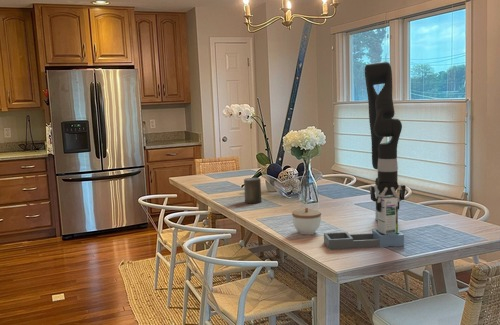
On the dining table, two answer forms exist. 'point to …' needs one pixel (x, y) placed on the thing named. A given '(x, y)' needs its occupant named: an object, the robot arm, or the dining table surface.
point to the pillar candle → (252, 190)
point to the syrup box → (388, 215)
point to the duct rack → (362, 240)
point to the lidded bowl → (306, 220)
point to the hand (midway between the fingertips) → (387, 211)
